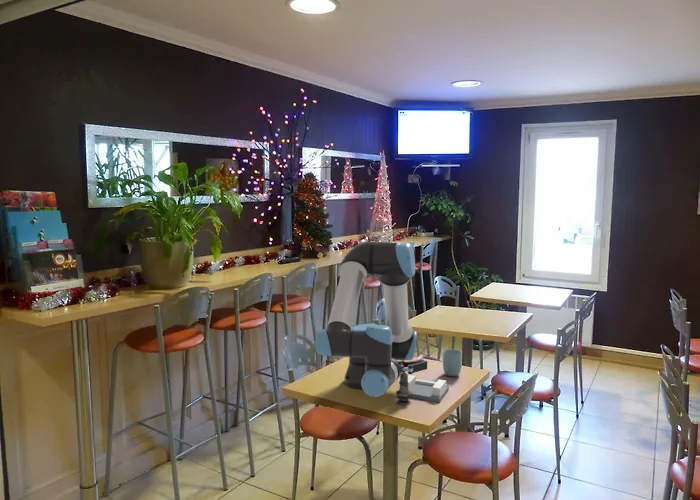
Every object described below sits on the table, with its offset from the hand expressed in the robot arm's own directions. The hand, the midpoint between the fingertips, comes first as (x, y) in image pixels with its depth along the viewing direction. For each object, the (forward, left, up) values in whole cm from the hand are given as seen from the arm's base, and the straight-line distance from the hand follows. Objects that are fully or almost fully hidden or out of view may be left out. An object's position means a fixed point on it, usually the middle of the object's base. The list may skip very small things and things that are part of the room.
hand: (402, 357), depth 181 cm
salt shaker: (-2, +8, -20) cm, 21 cm away
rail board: (+2, +20, -20) cm, 28 cm away
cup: (+7, +44, -20) cm, 49 cm away
